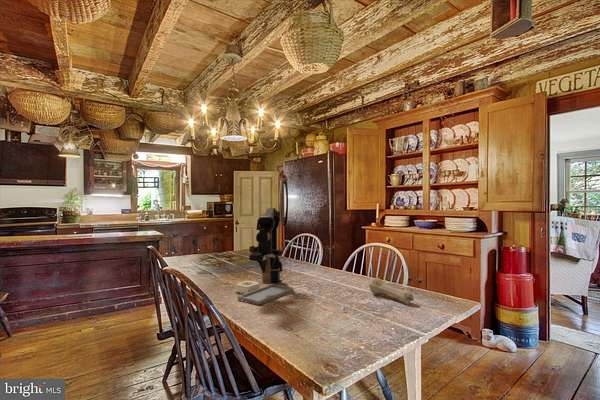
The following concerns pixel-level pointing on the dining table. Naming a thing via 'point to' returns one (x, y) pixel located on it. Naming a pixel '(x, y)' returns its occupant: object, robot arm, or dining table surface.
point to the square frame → (247, 286)
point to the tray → (265, 294)
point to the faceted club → (389, 291)
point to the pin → (266, 273)
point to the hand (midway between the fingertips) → (266, 272)
